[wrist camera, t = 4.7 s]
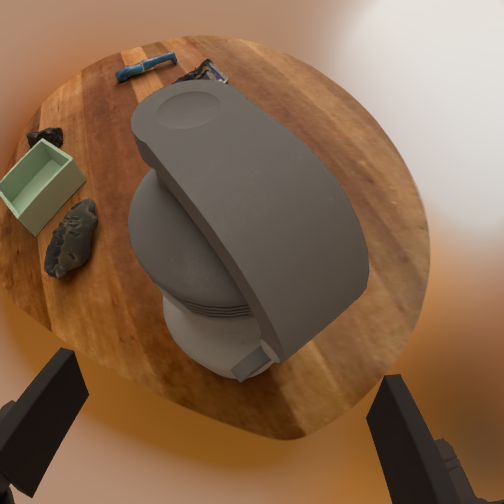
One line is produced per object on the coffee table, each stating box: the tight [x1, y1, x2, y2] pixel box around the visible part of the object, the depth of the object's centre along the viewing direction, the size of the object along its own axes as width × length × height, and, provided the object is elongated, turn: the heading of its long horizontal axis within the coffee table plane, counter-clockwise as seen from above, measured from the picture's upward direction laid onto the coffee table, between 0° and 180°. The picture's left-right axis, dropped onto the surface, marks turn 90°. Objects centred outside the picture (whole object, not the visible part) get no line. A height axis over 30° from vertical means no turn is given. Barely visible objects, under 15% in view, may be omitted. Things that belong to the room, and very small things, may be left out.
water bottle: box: [128, 79, 369, 383], centre depth 20 cm, size 10×10×28 cm
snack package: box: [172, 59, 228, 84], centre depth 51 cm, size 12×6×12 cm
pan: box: [0, 138, 86, 237], centre depth 39 cm, size 13×13×6 cm
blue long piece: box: [115, 52, 177, 81], centre depth 56 cm, size 5×4×15 cm
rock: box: [26, 128, 63, 148], centre depth 45 cm, size 7×10×6 cm
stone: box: [44, 198, 98, 279], centre depth 35 cm, size 7×13×5 cm, turn 174°
